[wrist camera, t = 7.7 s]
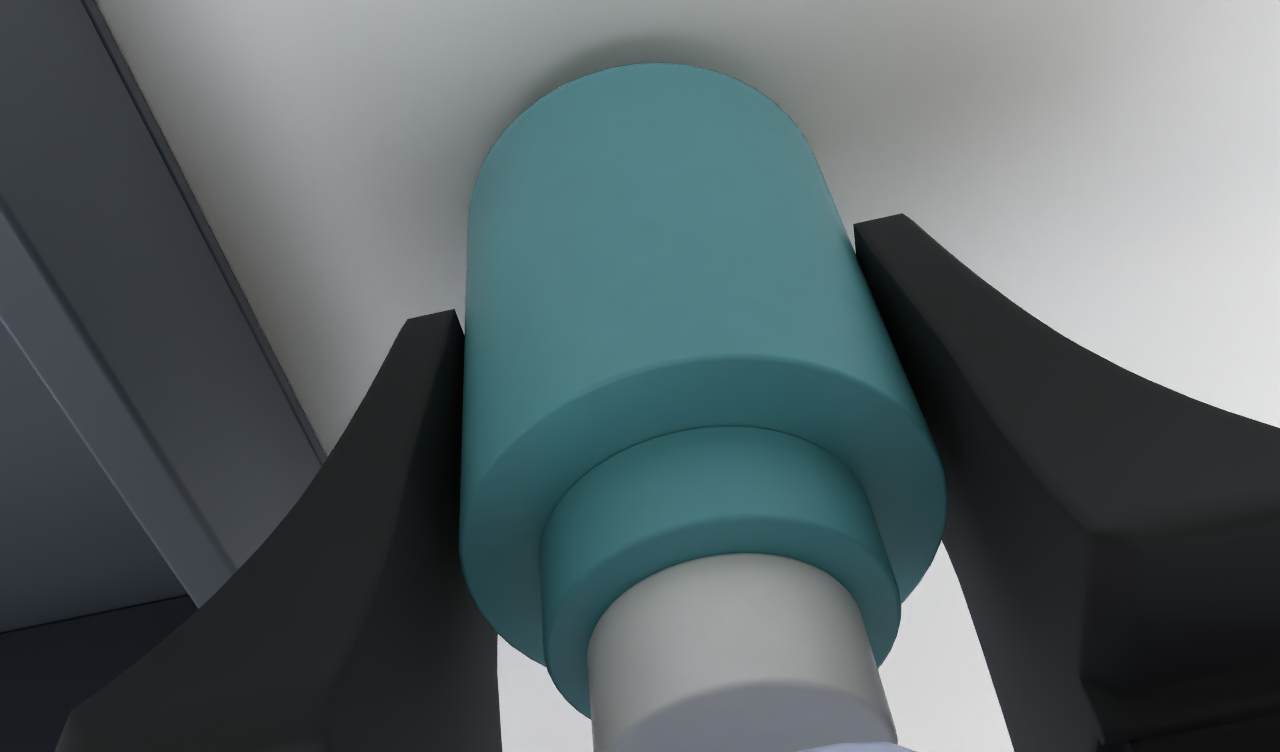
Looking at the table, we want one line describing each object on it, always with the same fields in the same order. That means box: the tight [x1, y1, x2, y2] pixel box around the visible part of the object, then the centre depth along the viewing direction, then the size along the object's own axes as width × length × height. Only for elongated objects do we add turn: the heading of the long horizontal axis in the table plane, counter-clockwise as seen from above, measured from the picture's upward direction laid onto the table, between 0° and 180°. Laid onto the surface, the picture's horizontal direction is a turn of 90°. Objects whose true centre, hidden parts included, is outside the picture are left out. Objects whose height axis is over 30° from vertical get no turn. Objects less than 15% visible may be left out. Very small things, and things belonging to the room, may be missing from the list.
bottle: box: [459, 63, 948, 752], centre depth 13 cm, size 5×5×9 cm
